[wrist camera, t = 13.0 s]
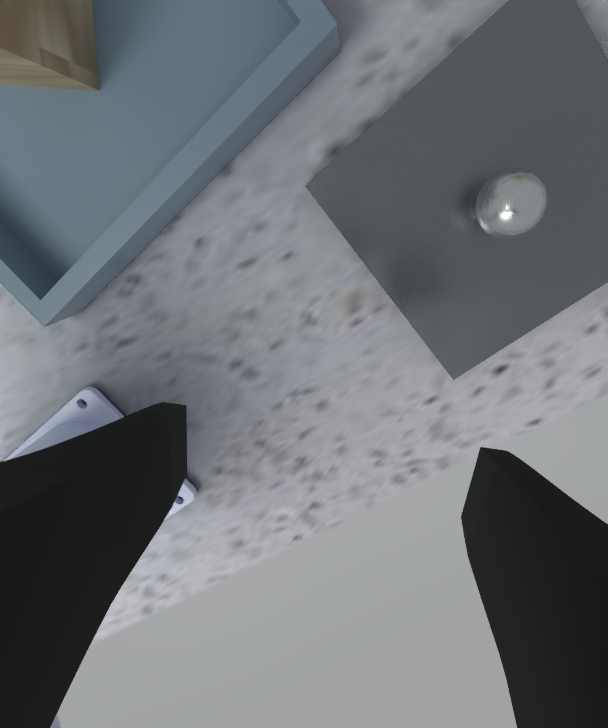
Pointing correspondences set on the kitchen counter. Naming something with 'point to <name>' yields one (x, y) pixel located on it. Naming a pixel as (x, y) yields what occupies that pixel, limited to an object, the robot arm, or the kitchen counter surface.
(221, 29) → the bin
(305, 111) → the kitchen counter surface
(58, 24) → the strut
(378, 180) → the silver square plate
